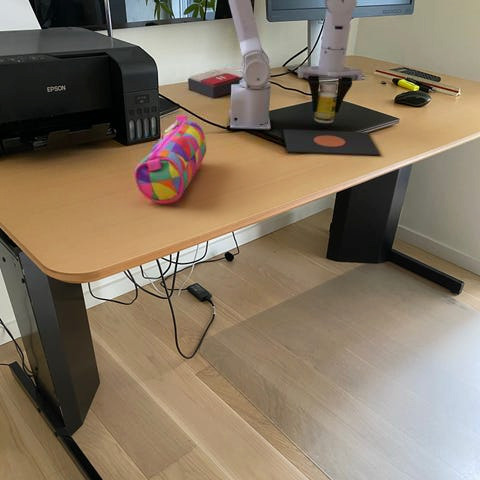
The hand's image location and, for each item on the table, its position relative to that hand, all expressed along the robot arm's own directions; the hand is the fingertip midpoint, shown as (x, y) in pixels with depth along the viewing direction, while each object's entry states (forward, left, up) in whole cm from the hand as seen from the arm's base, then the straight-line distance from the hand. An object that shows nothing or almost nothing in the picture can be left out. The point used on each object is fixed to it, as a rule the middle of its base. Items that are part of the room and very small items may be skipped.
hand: (324, 111), depth 121 cm
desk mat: (0, -11, -4) cm, 12 cm away
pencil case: (-32, -35, -4) cm, 48 cm away
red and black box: (-26, +30, -4) cm, 40 cm away
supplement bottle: (0, 0, -2) cm, 2 cm away
